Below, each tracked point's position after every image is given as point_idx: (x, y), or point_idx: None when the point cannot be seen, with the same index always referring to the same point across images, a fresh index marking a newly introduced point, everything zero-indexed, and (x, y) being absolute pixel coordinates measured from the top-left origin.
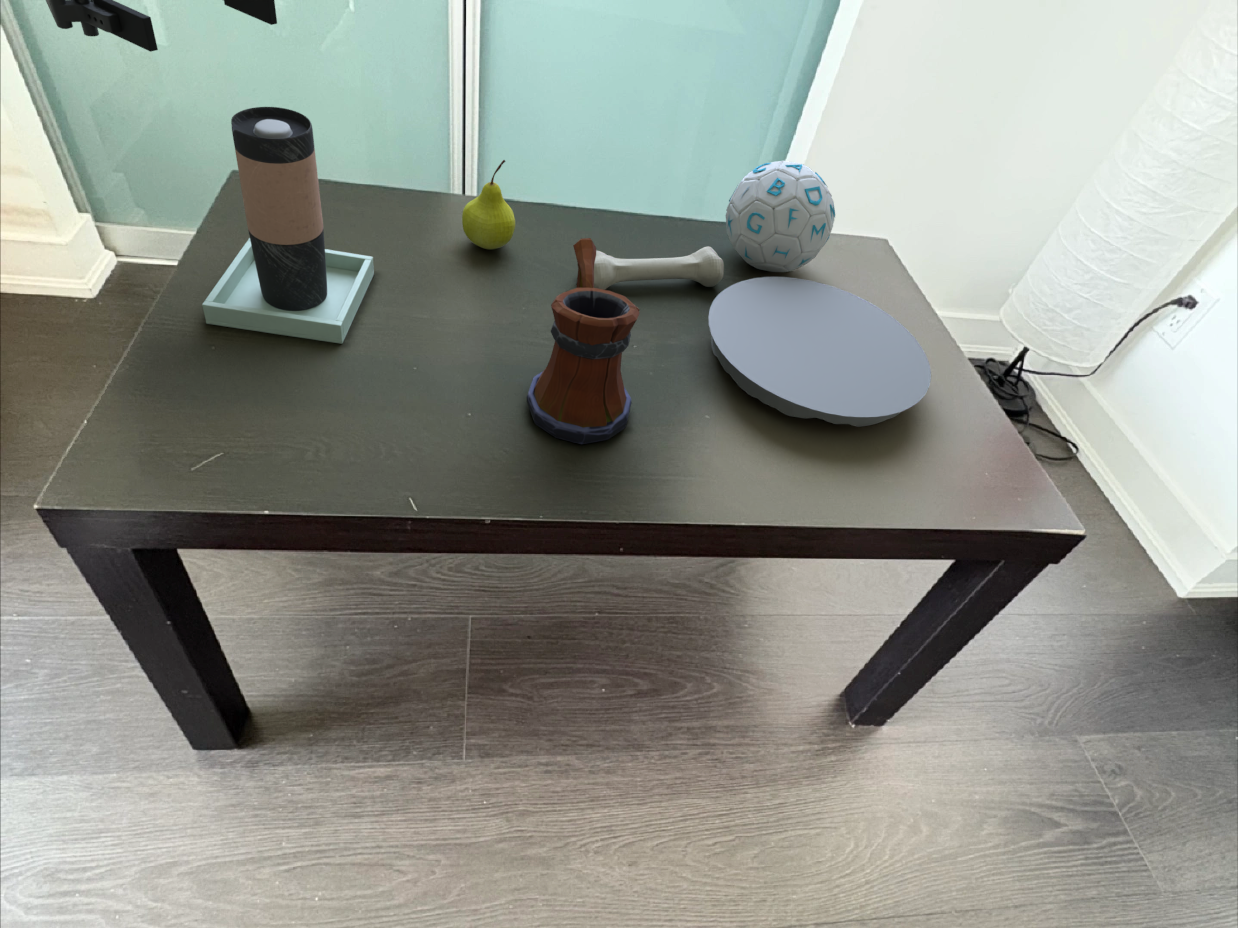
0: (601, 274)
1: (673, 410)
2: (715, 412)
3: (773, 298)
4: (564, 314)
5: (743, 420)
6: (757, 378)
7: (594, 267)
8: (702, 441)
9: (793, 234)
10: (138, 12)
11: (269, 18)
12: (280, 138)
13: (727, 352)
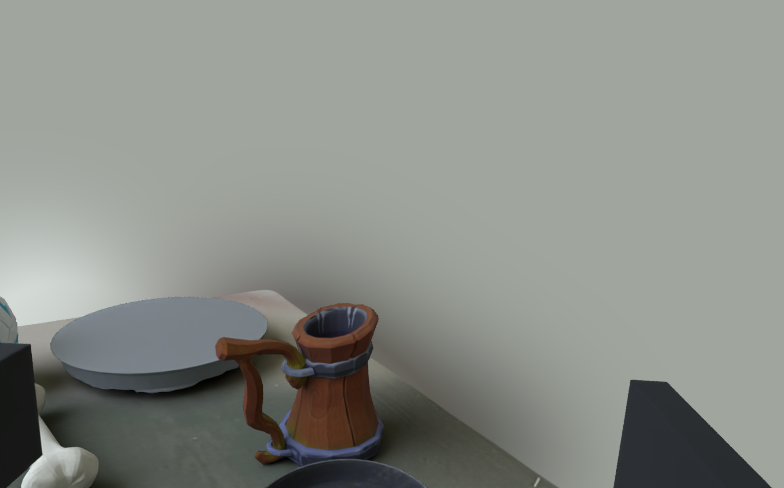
0: (94, 455)
1: (282, 399)
2: (267, 383)
3: (103, 350)
4: (373, 324)
5: (266, 371)
6: None
7: (84, 459)
8: None
9: (14, 319)
10: (666, 413)
11: (37, 436)
12: (399, 470)
13: None
